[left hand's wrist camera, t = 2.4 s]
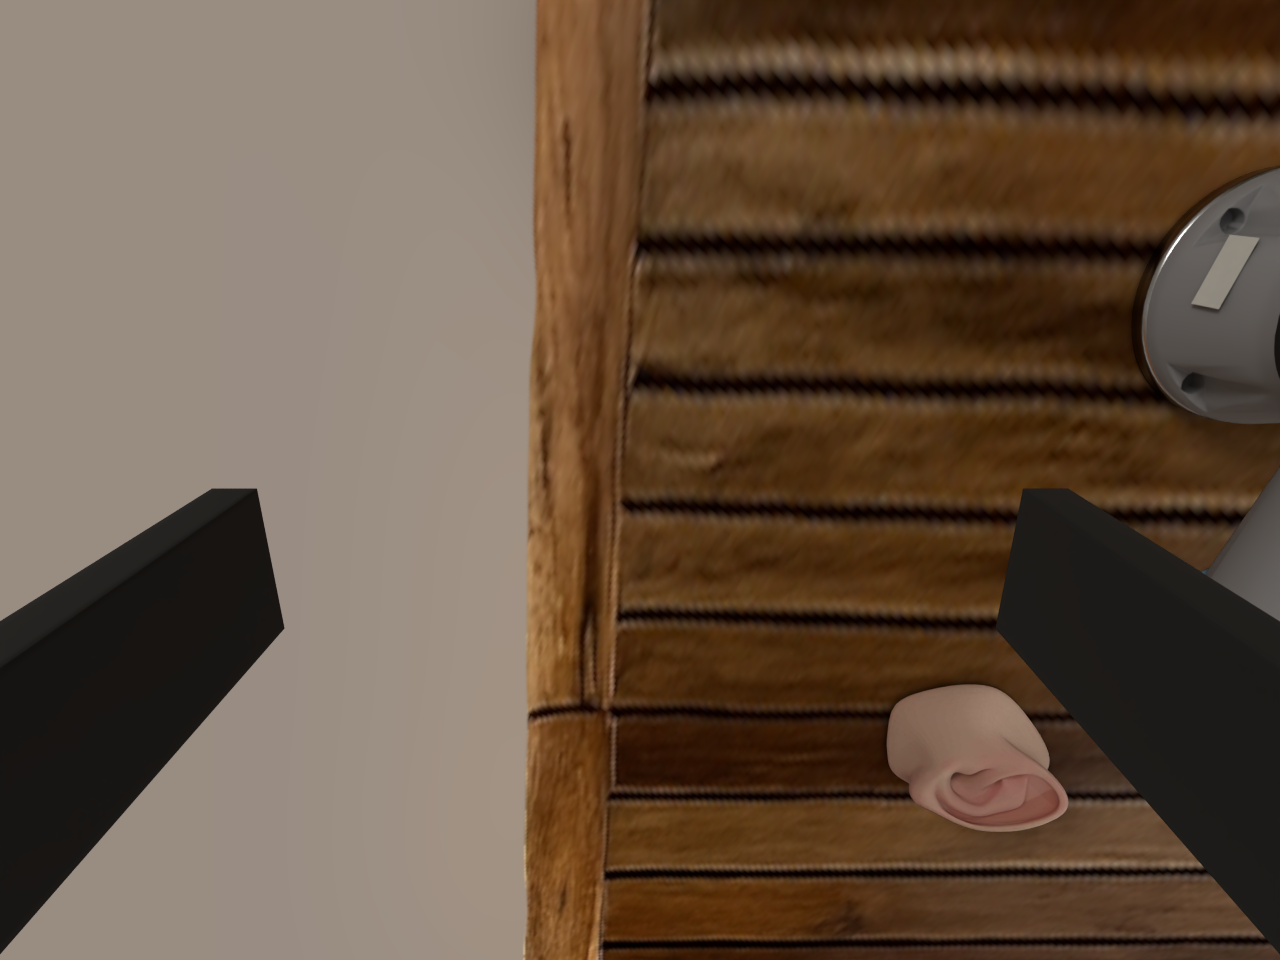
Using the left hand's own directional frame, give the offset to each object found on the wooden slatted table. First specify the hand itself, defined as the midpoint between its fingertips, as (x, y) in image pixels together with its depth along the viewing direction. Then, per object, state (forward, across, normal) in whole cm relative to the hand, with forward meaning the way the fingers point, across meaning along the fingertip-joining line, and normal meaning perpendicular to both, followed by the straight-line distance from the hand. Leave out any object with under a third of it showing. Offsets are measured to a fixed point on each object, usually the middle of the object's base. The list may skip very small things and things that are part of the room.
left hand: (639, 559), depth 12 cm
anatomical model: (+34, +25, -33) cm, 54 cm away
